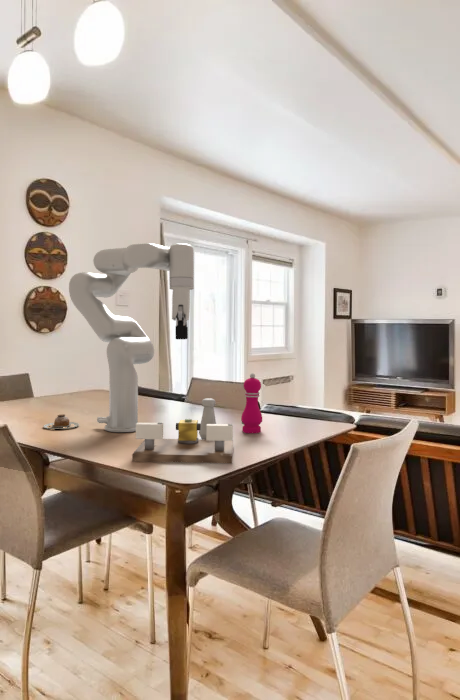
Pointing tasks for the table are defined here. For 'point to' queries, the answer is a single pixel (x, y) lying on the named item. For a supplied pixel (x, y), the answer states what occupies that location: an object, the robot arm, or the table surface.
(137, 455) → the level base
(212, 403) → the salt shaker
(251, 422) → the pepper mill
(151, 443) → the knob left
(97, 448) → the table surface
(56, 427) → the pastry
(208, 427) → the knob right
